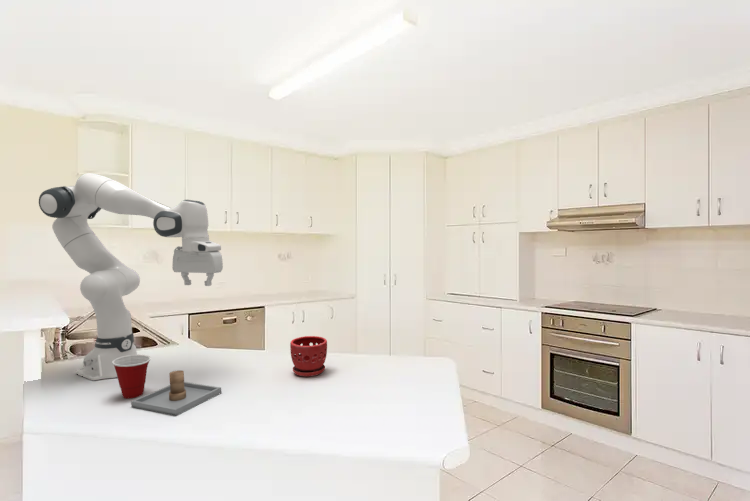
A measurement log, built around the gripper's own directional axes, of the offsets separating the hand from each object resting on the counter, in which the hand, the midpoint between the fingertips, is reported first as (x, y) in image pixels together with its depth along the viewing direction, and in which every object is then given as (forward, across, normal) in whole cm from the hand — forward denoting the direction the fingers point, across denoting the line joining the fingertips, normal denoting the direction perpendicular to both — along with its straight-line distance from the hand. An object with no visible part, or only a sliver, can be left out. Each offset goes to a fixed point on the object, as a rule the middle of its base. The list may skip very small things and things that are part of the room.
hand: (197, 285), depth 152 cm
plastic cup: (+33, -9, -20) cm, 40 cm away
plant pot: (+33, +34, +17) cm, 51 cm away
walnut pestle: (+32, +8, -18) cm, 38 cm away
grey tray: (+33, +8, -18) cm, 38 cm away
